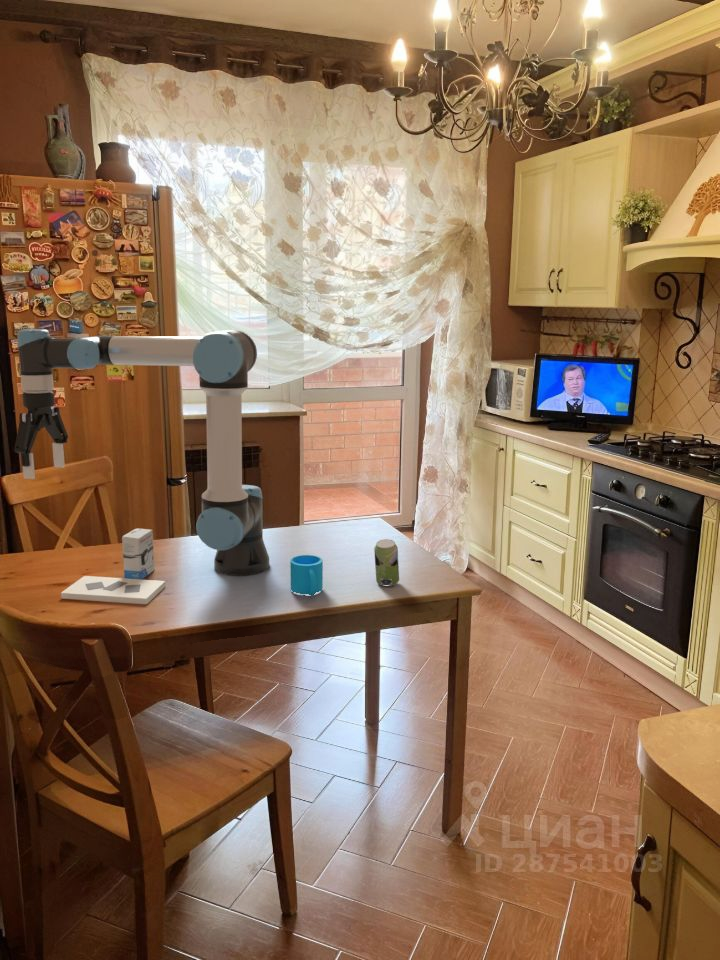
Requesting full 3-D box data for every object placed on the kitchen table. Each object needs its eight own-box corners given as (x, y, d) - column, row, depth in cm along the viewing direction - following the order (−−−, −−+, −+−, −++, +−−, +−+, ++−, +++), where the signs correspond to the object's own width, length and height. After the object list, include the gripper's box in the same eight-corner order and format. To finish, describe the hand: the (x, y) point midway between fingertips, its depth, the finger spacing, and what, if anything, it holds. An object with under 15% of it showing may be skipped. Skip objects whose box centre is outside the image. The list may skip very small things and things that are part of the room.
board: (165, 586, 195) (165, 580, 195) (146, 604, 184) (146, 598, 183) (84, 581, 198) (84, 575, 198) (61, 598, 186) (60, 592, 186)
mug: (287, 586, 197) (287, 556, 195) (318, 583, 199) (318, 553, 197) (297, 603, 186) (297, 572, 184) (330, 600, 188) (330, 569, 186)
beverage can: (401, 581, 201) (403, 538, 198) (393, 591, 194) (395, 546, 192) (379, 578, 203) (380, 535, 200) (370, 588, 196) (371, 543, 194)
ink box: (140, 581, 199) (138, 538, 196) (123, 579, 200) (120, 536, 197) (155, 570, 207) (153, 528, 204) (139, 568, 208) (136, 527, 205)
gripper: (52, 385, 205) (58, 462, 210) (-7, 396, 182) (1, 482, 186) (77, 386, 204) (83, 463, 209) (21, 397, 180) (29, 484, 185)
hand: (44, 472), depth 198 cm, fingers open, 13 cm apart
